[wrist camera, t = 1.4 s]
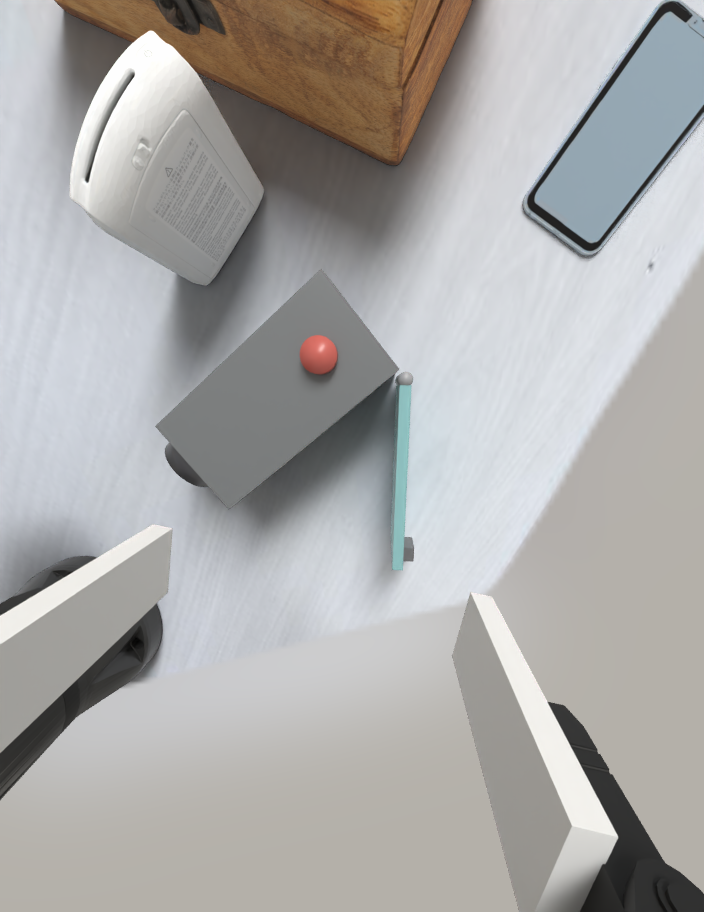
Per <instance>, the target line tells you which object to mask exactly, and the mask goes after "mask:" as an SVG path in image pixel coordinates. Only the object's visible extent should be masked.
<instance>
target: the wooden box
mask: <svg viewBox="0 0 704 912" xmlns="http://www.w3.org/2000/svg"><path fill="white" fill-rule="evenodd" d="M55 1H56V3H57V4H58V5H59V6H60V7H61V8H62V9H64V10H65V11H66V12H68V13H69V14H71V15H73V16H75V17H78V18H80V19H82V20H84V21H86V22H88V23H91V24H93V25H95V26H97V27H100V28H102V29H104V30H106V31H108V32H111V33H113V34H115V35H117V36H119V37H122V38H124V39H126V40H128V41H131V42H135V41H136V40H137V39H138V38H140V37H141V36H142V35H144V34H145V33H147V32H148V31H153V32H155V33H156V34H157V35H158V36H159V37H160V38H161V39H162V40H163V41H164V42H165V43H167V44H169V45H171V46H172V47H174V48H175V50H176V51H177V52H178V53H179V54H180V55H181V56H182V57H183V58H184V59H185V60H186V61H187V62H188V63H189V65H190V66H191V67H192V68H193V69H194V70H195V72H197V73H199V74H201V75H203V76H205V77H207V78H209V79H211V80H213V81H215V82H218V83H220V84H222V85H224V86H226V87H228V88H231V89H233V90H235V91H237V92H239V93H241V94H243V95H245V96H247V97H250V98H252V99H254V100H256V101H258V102H260V103H263V104H265V105H269V106H271V107H273V108H275V109H277V110H279V111H281V112H283V113H285V114H286V115H288V116H289V117H291V118H293V119H296V120H298V121H300V122H302V123H304V124H306V125H308V126H310V127H312V128H314V129H316V130H318V131H320V132H322V133H324V134H326V135H328V136H330V137H332V138H334V139H337V140H339V141H341V142H343V143H345V144H347V145H349V146H351V147H353V148H355V149H357V150H359V151H361V152H363V153H365V154H367V155H369V156H371V157H373V158H375V159H377V160H379V161H381V162H384V163H386V164H388V165H398V164H400V162H401V160H402V158H403V157H404V155H405V153H406V151H407V149H408V147H409V145H410V143H411V140H412V138H413V136H414V134H415V132H416V129H417V127H418V125H419V123H420V120H421V118H422V116H423V114H424V111H425V109H426V106H427V104H428V103H429V101H430V98H431V95H432V93H433V91H434V89H435V86H436V84H437V81H438V79H439V77H440V74H441V72H442V70H443V68H444V66H445V63H446V61H447V59H448V58H449V56H450V52H451V50H452V48H453V45H454V43H455V41H456V38H457V36H458V34H459V32H460V29H461V27H462V25H463V22H464V20H465V18H466V16H467V13H468V11H469V9H470V6H471V3H472V1H473V0H55Z"/></svg>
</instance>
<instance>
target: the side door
mask: <svg viewBox="0 0 704 912" xmlns="http://www.w3.org/2000/svg"><path fill="white" fill-rule="evenodd" d="M412 382H413V376H412V374H411V373H409V372H403V373H401V374H400V375H399V376H397V377H396V379H395V383H396V385H397V386H396V406H395V432H394V458H393V485H392V511H391V555H392V570H403V561H413V558H414V546H413V540H412V538H410V537H404V532H405V511H406V489H407V468H408V447H409V426H410V404H411V384H412Z"/></svg>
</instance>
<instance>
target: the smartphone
mask: <svg viewBox="0 0 704 912" xmlns="http://www.w3.org/2000/svg"><path fill="white" fill-rule="evenodd" d="M703 117H704V17H702V16H701V15H700V14H698V13H697V12H696V11H694V10H693V9H692V8H691V7H689V6H688V5H687V4H685V3H684V2H683V1H681V0H663V1H661V2H660V3H659V4H658V5H657V6H656V8H655V9H654V10H653V12H652V13H651V15H650V16H649V17H648V19H647V20H646V22H645V23H644V25H643V26H642V28H641V29H640V30H639V32H638V33H637V35H636V36H635V38H634V39H633V40H632V41H631V43H630V44H629V46H628V48H627V49H626V51H625V52H624V53H623V54H622V55H621V57H620V58H619V60H618V61H617V62H616V64H615V65H614V67H613V68H612V71H611V72H610V73H609V74H608V75H607V77H606V78H605V80H604V81H603V83H602V84H601V85H600V87H599V90H598V91H597V92H596V94H595V95H594V97H593V98H592V100H591V101H590V103H589V104H588V105H587V107H586V108H585V110H584V111H583V113H582V114H581V116H580V117H579V118H578V120H577V121H576V123H575V124H574V126H573V127H572V129H571V130H570V131H569V133H568V134H567V136H566V137H565V139H564V140H563V141H562V143H561V144H560V146H559V147H558V149H557V150H556V152H555V153H554V154H553V156H552V157H551V159H550V160H549V162H548V163H547V165H546V166H545V167H544V169H543V170H542V172H541V173H540V175H539V176H538V178H537V179H536V180H535V182H534V183H533V185H532V186H531V188H530V189H529V191H528V192H527V193H526V195H525V197H524V200H523V209H524V211H525V213H526V214H527V215H528V216H530V217H531V218H532V219H534V220H536V221H537V222H538V223H539V224H541V225H543V227H545V228H546V229H547V230H549V231H550V232H552V233H553V234H555V235H556V236H557V237H558V238H560V239H561V240H562V241H564V242H566V244H568V245H569V246H571V247H573V249H575V250H577V252H578V253H580V254H582V255H585V256H589V255H592V254H594V253H596V252H598V251H599V250H600V249H601V248H602V247H603V246H604V245H605V243H606V242H607V241H608V239H609V238H610V237H611V236H612V234H613V233H614V232H615V230H616V229H617V228H618V227H619V225H620V224H621V223H622V221H623V220H624V219H625V218H626V216H627V215H628V214H629V212H630V211H631V210H632V209H633V207H634V206H635V205H636V203H637V202H638V201H639V200H640V198H641V197H642V196H643V194H644V193H645V192H646V191H647V189H648V188H649V187H650V185H651V184H652V183H653V182H654V180H655V179H656V178H657V176H658V175H659V174H660V173H661V171H662V170H663V169H664V167H665V166H666V165H667V164H668V162H669V161H670V160H671V158H672V157H673V156H674V155H675V153H676V152H677V151H678V149H679V148H680V147H681V146H682V144H683V143H684V142H685V140H686V139H687V138H688V137H689V135H690V134H691V133H692V132H693V130H694V129H695V128H696V126H697V125H698V124H699V123H700V121H701V120H702V119H703Z"/></svg>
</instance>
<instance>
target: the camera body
mask: <svg viewBox="0 0 704 912" xmlns="http://www.w3.org/2000/svg"><path fill="white" fill-rule="evenodd" d="M398 370H399V368H398V367H397V366H396V364H395V363H394V362H393V360H392V359H391V358H390V357H389V355H388V354H387V353H386V351H385V350H384V349H383V348H382V346H381V345H380V344H379V342H378V341H377V340H376V339H375V337H374V336H373V335H372V333H371V332H370V331H369V329H368V328H367V327H366V326H365V324H364V323H363V322H362V320H361V319H360V318H359V317H358V315H357V314H356V313H355V311H354V310H353V309H352V308H351V306H350V305H349V304H348V302H347V301H346V300H345V299H344V297H343V296H342V295H341V293H340V292H339V291H338V289H337V288H336V287H335V286H334V284H333V283H332V282H331V280H330V279H329V278H328V277H327V275H326V274H325V273H324V271H323V270H322V269H321V270H320V271H319V272H318V273H316V274H315V275H314V276H313V277H312V278H311V279H310V280H309V281H308V282H307V283H306V284H305V285H304V286H303V287H302V288H301V289H300V290H299V291H297V292H296V293H295V294H294V295H293V296H292V297H291V298H290V299H289V300H288V301H287V302H286V303H285V304H284V305H283V306H282V307H281V308H280V309H278V310H277V311H276V312H275V313H274V314H273V315H272V316H271V317H270V318H269V319H268V320H267V321H266V322H265V323H264V324H263V325H262V326H261V327H260V328H258V329H257V330H256V331H255V332H254V333H253V334H252V335H251V336H250V337H249V338H248V339H247V340H246V341H245V342H244V343H243V344H242V345H241V346H239V347H238V348H237V349H236V350H235V351H234V352H233V353H232V354H231V355H230V356H229V357H228V358H227V359H226V360H225V361H224V362H223V363H222V364H220V365H219V366H218V367H217V368H216V369H215V370H214V371H213V372H212V373H211V374H210V375H209V376H208V377H207V378H206V379H205V380H204V381H203V382H201V383H200V384H199V385H198V386H197V387H196V388H195V389H194V390H193V391H192V392H191V393H190V394H189V395H188V396H187V397H186V398H185V399H184V400H182V401H181V402H180V403H179V404H178V405H177V406H176V407H175V408H174V409H173V410H172V411H171V412H170V413H169V414H168V415H167V416H166V417H165V418H164V419H162V420H161V421H160V422H159V423H158V424H157V425H156V426H155V427H156V428H157V429H158V430H159V431H160V432H161V433H162V435H163V436H164V437H165V438H166V439H167V440H168V441H169V442H170V443H169V444H168V445H167V446H166V448H165V456H166V459H167V461H168V463H169V465H170V466H171V467H172V469H173V470H174V471H175V472H176V473H177V474H178V475H179V476H180V477H181V478H183V479H184V480H186V481H187V482H189V483H191V484H193V485H196V486H200V487H209V488H210V489H211V490H212V491H213V492H214V493H215V494H216V496H217V497H218V498H219V499H220V500H221V501H222V502H223V503H224V505H225V506H226V507H227V508H228V509H230V508H231V507H233V506H234V505H235V504H236V503H238V502H239V501H240V500H241V499H243V498H244V497H245V496H246V495H248V494H249V493H250V492H251V491H253V490H254V489H255V488H256V487H258V486H259V485H260V484H262V483H263V482H264V481H265V480H267V479H268V478H269V477H270V476H271V475H273V474H274V473H275V472H276V471H277V470H279V469H280V468H281V467H282V466H284V465H285V464H286V463H287V462H288V461H290V460H291V459H292V458H293V457H295V456H296V455H297V454H298V453H299V452H301V451H302V450H303V449H304V448H305V447H307V446H308V445H309V444H310V443H312V442H313V441H314V440H315V439H316V438H318V437H319V436H320V435H321V434H323V433H324V432H325V431H326V430H327V429H329V428H330V427H331V426H332V425H333V424H335V423H336V422H337V421H338V420H340V419H341V418H342V417H343V416H344V415H346V414H347V413H348V412H349V411H351V410H352V409H353V408H354V407H355V406H357V405H358V404H359V403H360V402H361V401H363V400H364V399H365V398H366V397H368V396H369V395H370V394H371V393H372V392H374V391H375V390H376V389H377V388H379V387H380V386H381V385H382V384H383V383H385V382H386V381H387V380H388V379H389V378H391V377H392V376H393V375H394V374H395V373H396V372H397V371H398Z"/></svg>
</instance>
